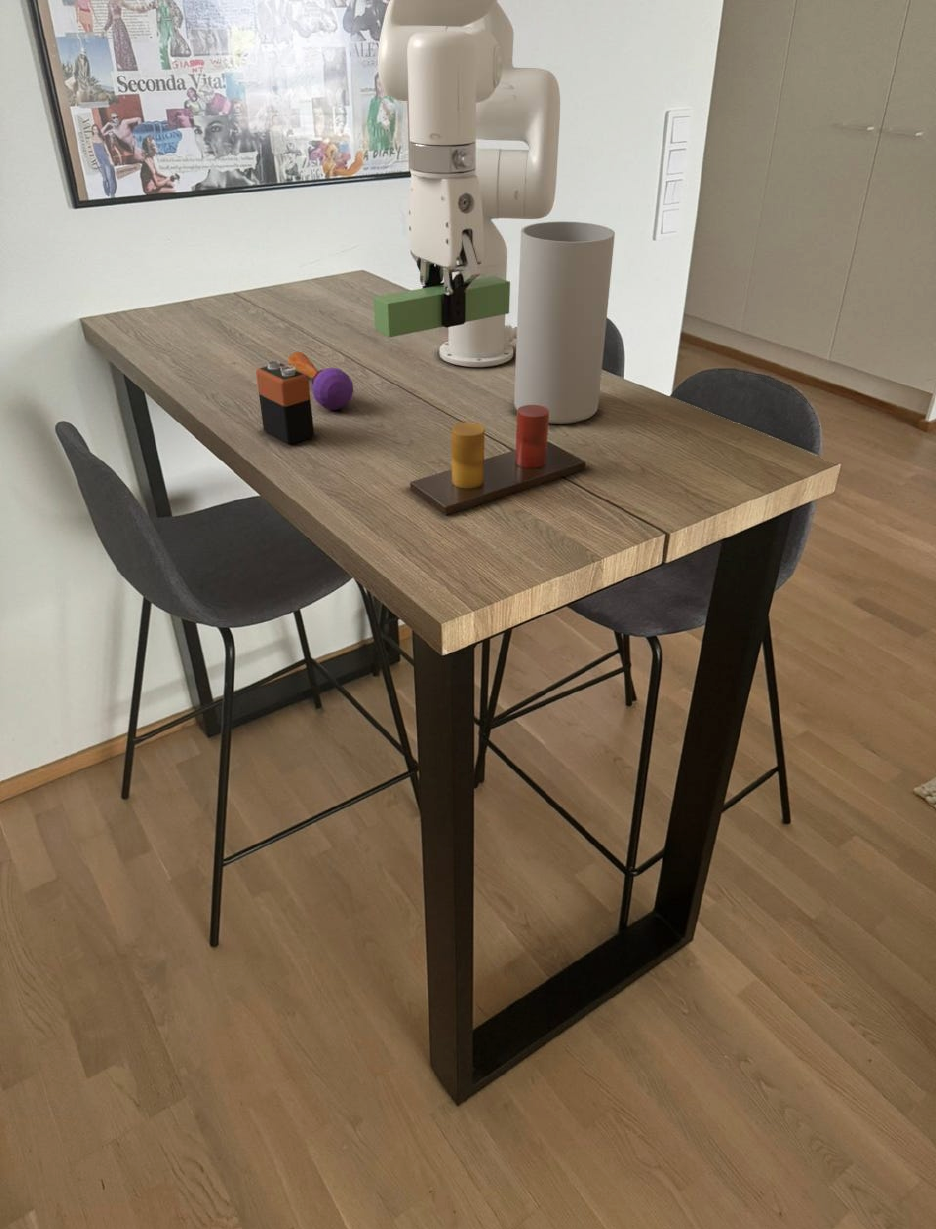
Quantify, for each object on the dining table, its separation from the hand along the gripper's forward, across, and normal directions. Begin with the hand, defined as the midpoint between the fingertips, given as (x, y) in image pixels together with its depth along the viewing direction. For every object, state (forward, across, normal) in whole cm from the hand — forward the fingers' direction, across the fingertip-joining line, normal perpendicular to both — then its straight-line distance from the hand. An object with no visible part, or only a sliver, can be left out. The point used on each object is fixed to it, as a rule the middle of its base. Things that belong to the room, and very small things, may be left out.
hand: (444, 319), depth 113 cm
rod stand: (+17, -12, 0) cm, 21 cm away
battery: (+18, +16, +16) cm, 28 cm away
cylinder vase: (+17, +2, -21) cm, 27 cm away
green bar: (0, 0, 0) cm, 0 cm away
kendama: (+17, +28, +5) cm, 33 cm away
